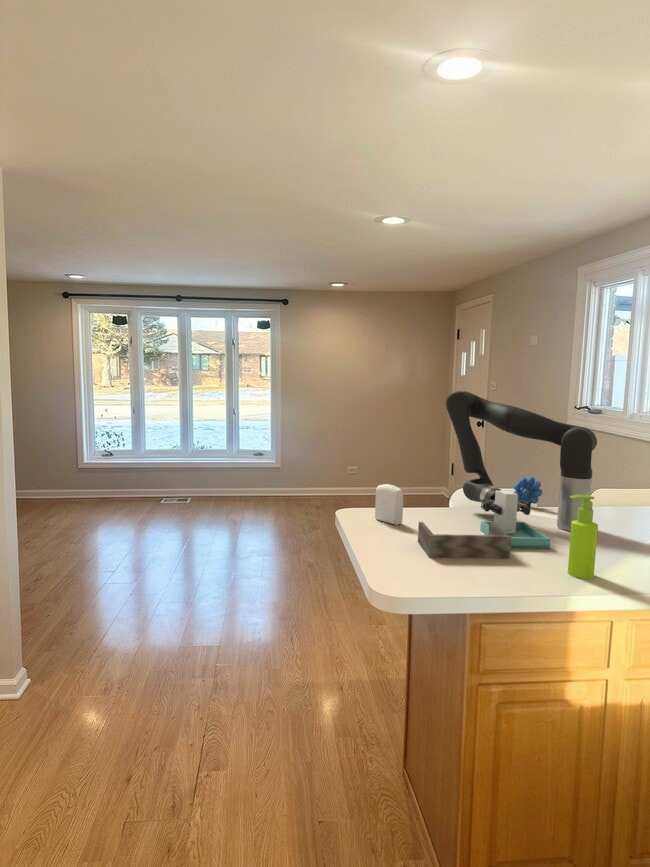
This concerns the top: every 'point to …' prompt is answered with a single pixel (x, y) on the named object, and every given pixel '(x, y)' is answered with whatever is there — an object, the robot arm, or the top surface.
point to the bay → (465, 544)
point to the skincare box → (506, 510)
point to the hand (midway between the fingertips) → (514, 511)
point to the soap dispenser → (583, 541)
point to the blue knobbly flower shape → (528, 490)
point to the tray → (523, 536)
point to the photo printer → (389, 504)
